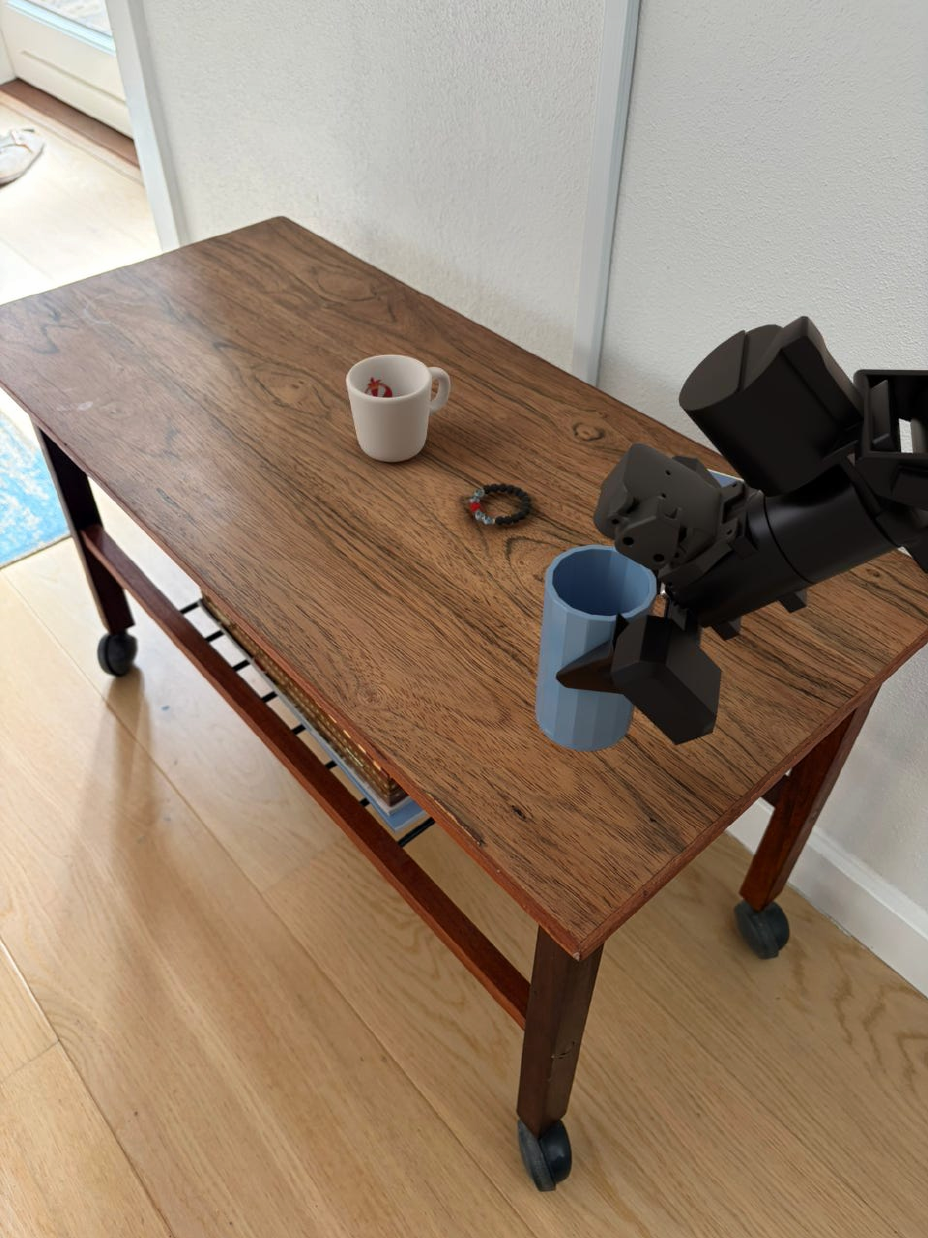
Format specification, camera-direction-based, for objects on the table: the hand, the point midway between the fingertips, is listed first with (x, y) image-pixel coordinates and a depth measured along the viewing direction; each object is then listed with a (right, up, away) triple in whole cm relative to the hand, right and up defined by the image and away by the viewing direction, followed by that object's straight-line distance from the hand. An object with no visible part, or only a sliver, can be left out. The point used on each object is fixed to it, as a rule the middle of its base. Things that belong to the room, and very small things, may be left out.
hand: (570, 640), depth 63 cm
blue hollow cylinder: (+1, -5, +4) cm, 7 cm away
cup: (-13, +19, +38) cm, 44 cm away
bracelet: (-3, +11, +30) cm, 33 cm away
